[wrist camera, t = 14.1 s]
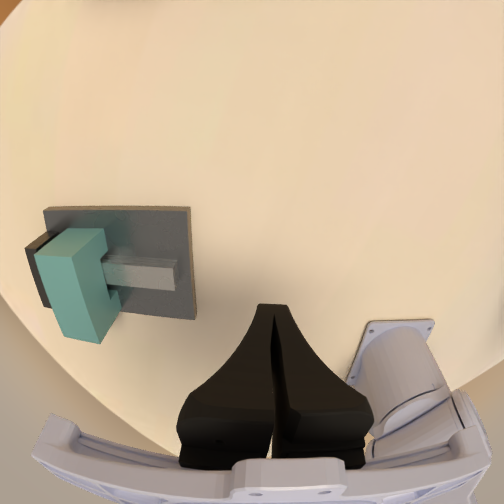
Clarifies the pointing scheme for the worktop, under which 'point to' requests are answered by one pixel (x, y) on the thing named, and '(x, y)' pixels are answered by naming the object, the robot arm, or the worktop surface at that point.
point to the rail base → (134, 255)
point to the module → (78, 283)
